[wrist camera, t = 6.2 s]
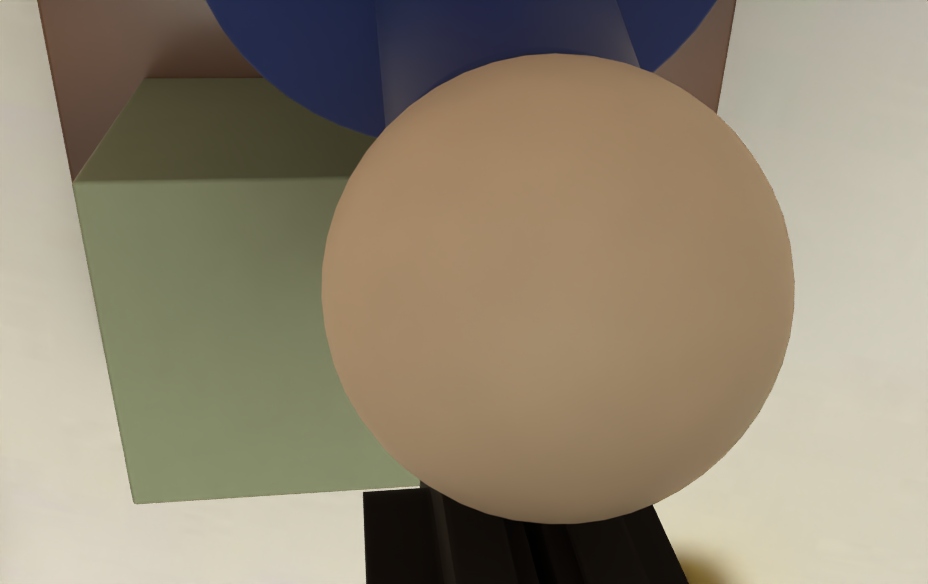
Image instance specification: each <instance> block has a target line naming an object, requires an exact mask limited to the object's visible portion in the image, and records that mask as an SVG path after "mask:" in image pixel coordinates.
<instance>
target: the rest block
mask: <svg viewBox="0 0 928 584" xmlns="http://www.w3.org/2000/svg"><path fill="white" fill-rule="evenodd" d="M376 139H377V138H375V137H371V136H367V135H365V134H362V133H359V132H356V131H353V130H350V129H347V128H345V127H342V126H339V125H337V124H335V123H333V122H331V121H329V120H327V119H325V118H323V117H320V116H318V115H316V114H314V113H312V112H311V111H309V110H308V109H306V108H304V107H303V106H301V105H300V104H298V103H296V102H295V101H293V100H292V99H290V98H288V97H287V96H286V95H285V94H283V93H282V92H281V91H280V90H278V89H277V88H276V87H275V86H273V85H272V84H271V83H270V82H268V81H267V80H266V79H265V78H145V79H143V80H142V82H141V83H140V85H139V86H138V88H137V89H136V90H135V92H134V93H133V95H132V96H131V98H130V99H129V101H128V102H127V104H126V105H125V107H124V108H123V109H122V111H121V112H120V114H119V115H118V117H117V118H116V120H115V121H114V123H113V124H112V126H111V127H110V128H109V130H108V131H107V133H106V134H105V136H104V137H103V139H102V140H101V142H100V143H99V145H98V146H97V147H96V149H95V150H94V152H93V153H92V155H91V156H90V158H89V159H88V161H87V162H86V164H85V165H84V166H83V168H82V169H81V171H80V172H79V174H78V175H77V177H76V178H75V180H74V181H73V184H72V186H73V192H74V197H75V202H76V207H77V212H78V218H79V223H80V228H81V233H82V238H83V244H84V249H85V254H86V259H87V264H88V270H89V275H90V280H91V285H92V290H93V296H94V301H95V306H96V311H97V316H98V322H99V327H100V332H101V337H102V342H103V348H104V353H105V358H106V363H107V368H108V374H109V379H110V384H111V389H112V394H113V400H114V405H115V410H116V415H117V420H118V426H119V431H120V436H121V441H122V446H123V452H124V457H125V462H126V467H127V472H128V478H129V483H130V488H131V493H132V498H133V502H134V504H147V503H162V502H178V501H193V500H209V499H224V498H239V497H255V496H270V495H286V494H301V493H317V492H332V491H347V490H363V489H378V488H394V487H409V486H420V479H418V478H417V477H416V476H414V475H413V474H412V473H410V472H409V471H407V470H406V469H405V468H404V467H403V466H402V465H400V464H399V463H398V462H397V461H396V460H395V459H394V458H393V457H392V456H391V455H390V454H389V453H388V452H387V451H386V450H385V449H384V448H383V447H382V445H381V444H380V443H379V442H378V440H377V439H376V438H375V436H374V435H373V434H372V433H371V431H370V430H369V429H368V427H367V426H366V425H365V424H364V422H363V421H362V420H361V418H360V417H359V415H358V414H357V412H356V410H355V408H354V407H353V405H352V403H351V401H350V400H349V398H348V396H347V395H346V393H345V391H344V388H343V386H342V383H341V381H340V378H339V376H338V374H337V371H336V369H335V366H334V363H333V359H332V355H331V352H330V348H329V344H328V340H327V336H326V331H325V326H324V317H323V308H322V299H321V293H322V265H323V259H324V253H325V247H326V240H327V236H328V232H329V229H330V226H331V222H332V219H333V216H334V212H335V209H336V206H337V204H338V202H339V200H340V198H341V195H342V193H343V191H344V189H345V187H346V184H347V182H348V180H349V178H350V177H351V175H352V173H353V172H354V170H355V169H356V167H357V165H358V164H359V162H360V161H361V159H362V157H363V156H364V154H365V153H366V151H367V150H368V149H369V147H370V146H371V145H372V144H373V143H374V141H375V140H376Z"/></svg>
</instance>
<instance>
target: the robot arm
mask: <svg viewBox="0 0 928 584" xmlns="http://www.w3.org/2000/svg"><path fill="white" fill-rule="evenodd" d="M363 508H364V537H365V563H366V584H689V583H688V581H687V579H686V576H685V574H684V572H683V570H682V568H681V566H680V563H679V561H678V559H677V557H676V555H675V553H674V550H673V548H672V546H671V544H670V542H669V539H668V537H667V535H666V533H665V531H664V529H663V526H662V524H661V522H660V520H659V518H658V516H657V513H656V511H655V509H654V507H653V505H650V506H647V507H645V508H642V509H640V510H637V511H635V512H632V513H629V514H625V515H621V516H618V517H614V518H610V519H606V520H600V521H593V522H586V523H578V524H544V523H534V522H525V521H517V520H511V519H507V518H503V517H499V516H495V515H490V514H486V513H484V512H481V511H479V510H476V509H474V508H471V507H468V506H466V505H463V504H461V503H459V502H457V501H455V500H453V499H451V498H450V497H448V496H446V495H444V494H442V493H441V492H439V491H437V490H435V489H433V488H432V487H430V486H428V485H426V484H425V483H424V482H422V481H421V480H420V488H416V489H401V490H386V491H372V492H363Z"/></svg>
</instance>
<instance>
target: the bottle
mask: <svg viewBox="0 0 928 584" xmlns="http://www.w3.org/2000/svg"><path fill="white" fill-rule="evenodd" d="M205 1H206V2H207V4H208V6H209V8H210V9H211V11H212V13H213V15H214V16H215V18H216V20H217V22H218V23H219V25H220V27H221V29H222V30H223V31H224V33H225V34H226V35H227V37H228V38H229V39H230V41H231V42H232V43H233V45H234V46H235V47H236V48H237V50H238V51H239V52H240V54H241V55H242V56H243V57H244V58H245V59H246V60H247V61H248V62H249V63H250V64H251V65H252V66H253V67H254V68H255V69H256V70H257V71H258V72H259V74H260V75H261V76H262V77H263V78H265V79H266V80H267V81H268V82H270V83H271V84H272V85H273V86H275V87H276V88H277V89H278V90H280V91H281V92H282V93H283V94H285V95H286V96H287V97H288V98H290V99H292V100H293V101H295V102H296V103H298V104H300V105H301V106H303V107H304V108H306V109H308V110H309V111H311V112H312V113H314V114H316V115H318V116H320V117H323V118H325V119H327V120H329V121H331V122H333V123H335V124H337V125H339V126H342V127H345V128H347V129H350V130H353V131H356V132H359V133H362V134H365V135H367V136H371V137H375V138H377V139H376V140H375V141H374V143H373V144H372V145H371V146H370V147H369V149H368V150H367V151H366V153H365V154H364V156H363V157H362V159H361V161H360V162H359V164H358V165H357V167H356V169H355V170H354V172H353V173H352V175H351V177H350V178H349V180H348V182H347V184H346V187H345V189H344V191H343V193H342V195H341V198H340V200H339V202H338V204H337V206H336V209H335V212H334V216H333V219H332V222H331V226H330V229H329V232H328V236H327V240H326V247H325V253H324V259H323V265H322V293H321V299H322V308H323V317H324V326H325V331H326V336H327V340H328V344H329V348H330V352H331V355H332V359H333V363H334V366H335V369H336V371H337V374H338V376H339V378H340V381H341V383H342V386H343V388H344V391H345V393H346V395H347V396H348V398H349V400H350V401H351V403H352V405H353V407H354V408H355V410H356V412H357V414H358V415H359V417H360V418H361V420H362V421H363V422H364V424H365V425H366V426H367V427H368V429H369V430H370V431H371V433H372V434H373V435H374V436H375V438H376V439H377V440H378V442H379V443H380V444H381V445H382V447H383V448H384V449H385V450H386V451H387V452H388V453H389V454H390V455H391V456H392V457H393V458H394V459H395V460H396V461H397V462H398V463H399V464H400V465H402V466H403V467H404V468H405V469H406V470H407V471H409V472H410V473H412V474H413V475H414V476H416V477H417V478H418V479H420V480H421V481H422V482H424V483H425V484H426V485H428V486H430V487H432V488H433V489H435V490H437V491H439V492H441V493H442V494H444V495H446V496H448V497H450V498H451V499H453V500H455V501H457V502H459V503H461V504H463V505H466V506H468V507H471V508H474V509H476V510H479V511H481V512H484V513H486V514H490V515H495V516H499V517H503V518H507V519H511V520H517V521H525V522H534V523H544V524H578V523H586V522H593V521H600V520H606V519H610V518H614V517H618V516H621V515H625V514H629V513H632V512H635V511H637V510H640V509H642V508H645V507H647V506H650V505H653V504H655V503H657V502H659V501H661V500H663V499H665V498H667V497H669V496H670V495H672V494H674V493H676V492H678V491H680V490H681V489H683V488H684V487H686V486H687V485H689V484H690V483H692V482H693V481H694V480H696V479H697V478H699V477H700V476H702V475H703V474H704V473H705V472H707V471H708V470H709V469H710V468H711V467H712V466H713V465H715V464H716V463H717V462H718V461H719V460H720V459H721V458H723V457H724V456H725V455H726V453H727V452H728V451H729V450H730V449H731V448H732V447H733V446H734V445H735V444H736V442H737V441H738V440H739V439H740V438H741V437H742V436H743V435H744V433H745V432H746V430H747V429H748V428H749V426H750V425H751V423H752V422H753V421H754V419H755V418H756V416H757V415H758V414H759V412H760V410H761V408H762V406H763V405H764V403H765V401H766V399H767V397H768V396H769V394H770V392H771V390H772V388H773V386H774V383H775V381H776V378H777V376H778V373H779V371H780V369H781V366H782V364H783V360H784V357H785V353H786V349H787V346H788V342H789V338H790V333H791V326H792V319H793V312H794V283H795V281H794V272H793V263H792V254H791V246H790V241H789V237H788V233H787V229H786V225H785V221H784V217H783V214H782V211H781V209H780V206H779V204H778V201H777V199H776V196H775V194H774V191H773V189H772V187H771V185H770V184H769V182H768V180H767V178H766V177H765V175H764V173H763V171H762V170H761V168H760V166H759V164H758V163H757V161H756V160H755V158H754V157H753V155H752V154H751V152H750V151H749V150H748V149H747V147H746V146H745V145H744V143H743V142H742V141H741V139H740V138H739V137H738V135H737V134H736V133H735V132H734V131H733V130H732V129H731V128H730V127H729V126H728V125H727V124H726V123H725V122H724V121H723V120H722V119H721V118H720V117H719V116H718V115H717V114H716V113H715V112H714V111H713V110H711V109H710V108H709V107H707V106H706V105H705V104H703V103H702V102H700V101H699V100H698V99H696V98H695V97H694V96H692V95H691V94H690V93H688V92H687V91H685V90H683V89H682V88H680V87H678V86H677V85H675V84H673V83H671V82H669V81H667V80H665V79H664V78H662V77H660V76H658V75H656V74H654V72H655V71H656V70H657V69H658V68H659V67H661V66H662V65H663V64H664V63H665V62H666V61H667V60H668V59H670V58H671V57H672V56H673V55H674V54H675V53H676V52H677V51H678V49H679V48H680V47H681V46H682V45H683V44H684V43H685V42H686V41H687V40H688V39H689V37H690V36H691V35H692V34H693V33H694V32H695V31H696V29H697V28H698V27H699V25H700V24H701V23H702V21H703V20H704V19H705V17H706V16H707V15H708V13H709V12H710V10H711V9H712V8H713V6H714V5H715V3H716V2H717V0H205Z"/></svg>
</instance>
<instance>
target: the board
mask: <svg viewBox="0 0 928 584" xmlns="http://www.w3.org/2000/svg"><path fill="white" fill-rule="evenodd" d="M37 2H38V8H39V13H40V18H41V23H42V28H43V34H44V39H45V44H46V49H47V54H48V60H49V65H50V70H51V75H52V80H53V86H54V91H55V96H56V101H57V106H58V112H59V117H60V122H61V127H62V133H63V138H64V143H65V148H66V153H67V159H68V164H69V169H70V174H71V179H72V184H73V181H74V180H75V178H76V177H77V175H78V174H79V172H80V171H81V169H82V168H83V166H84V165H85V164H86V162H87V161H88V159H89V158H90V156H91V155H92V153H93V152H94V150H95V149H96V147H97V146H98V145H99V143H100V142H101V140H102V139H103V137H104V136H105V134H106V133H107V131H108V130H109V128H110V127H111V126H112V124H113V123H114V121H115V120H116V118H117V117H118V115H119V114H120V112H121V111H122V109H123V108H124V107H125V105H126V104H127V102H128V101H129V99H130V98H131V96H132V95H133V93H134V92H135V90H136V89H137V88H138V86H139V85H140V83H141V82H142V80H143V79H145V78H263V77H262V76H261V75H260V74H259V72H258V71H257V70H256V69H255V68H254V67H253V66H252V65H251V64H250V63H249V62H248V61H247V60H246V59H245V58H244V57H243V56H242V55H241V54H240V52H239V51H238V50H237V48H236V47H235V46H234V45H233V43H232V42H231V41H230V39H229V38H228V37H227V35H226V34H225V33H224V31H223V30H222V29H221V27H220V25H219V23H218V22H217V20H216V18H215V16H214V15H213V13H212V11H211V9H210V8H209V6H208V4H207V2H206V1H205V0H37ZM735 6H736V0H717V2H716V3H715V5H714V6H713V8H712V9H711V10H710V12H709V13H708V15H707V16H706V17H705V19H704V20H703V21H702V23H701V24H700V25H699V27H698V28H697V29H696V31H695V32H694V33H693V34H692V35H691V36H690V37H689V39H688V40H687V41H686V42H685V43H684V44H683V45H682V46H681V47H680V48H679V49H678V51H677V52H676V53H675V54H674V55H673V56H672V57H671V58H670V59H668V60H667V61H666V62H665V63H664V64H663V65H662V66H661V67H659V68H658V69H657V70H656V71H655V72H654V74H656V75H658V76H660V77H662V78H664V79H665V80H667V81H669V82H671V83H673V84H675V85H677V86H678V87H680V88H682V89H683V90H685V91H687V92H688V93H690V94H691V95H692V96H694V97H695V98H696V99H698V100H699V101H700V102H702V103H703V104H705V105H706V106H707V107H709V108H710V109H711V110H713V111H714V112H715V113H716V114H717V110H718V104H719V98H720V93H721V87H722V81H723V75H724V69H725V64H726V58H727V52H728V46H729V40H730V35H731V29H732V23H733V17H734V12H735Z"/></svg>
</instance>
